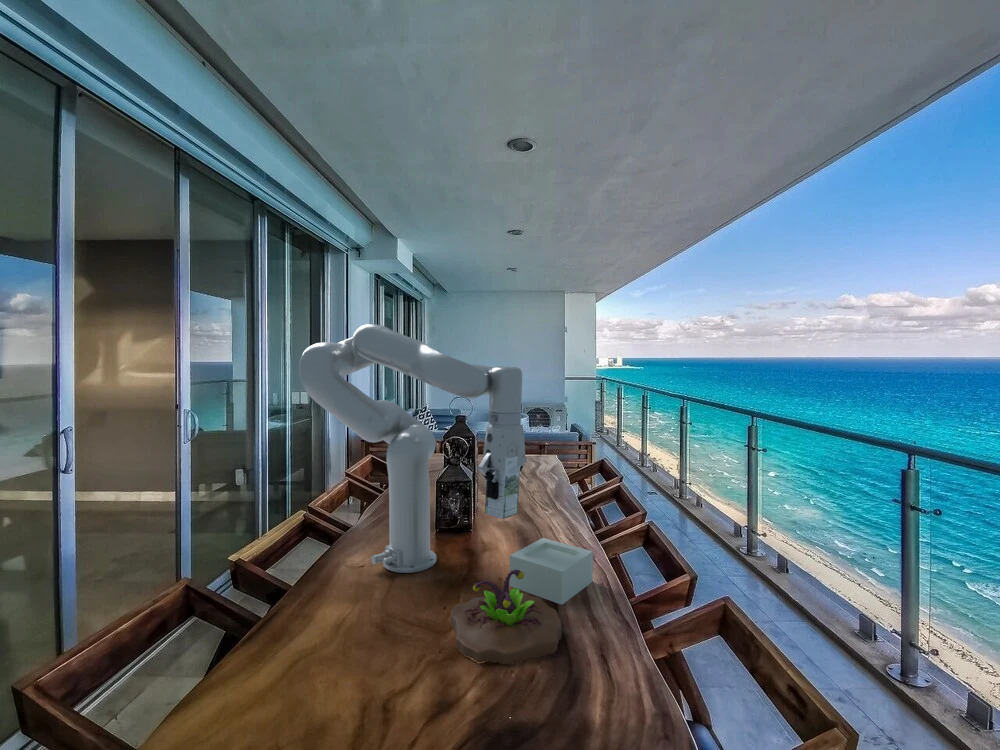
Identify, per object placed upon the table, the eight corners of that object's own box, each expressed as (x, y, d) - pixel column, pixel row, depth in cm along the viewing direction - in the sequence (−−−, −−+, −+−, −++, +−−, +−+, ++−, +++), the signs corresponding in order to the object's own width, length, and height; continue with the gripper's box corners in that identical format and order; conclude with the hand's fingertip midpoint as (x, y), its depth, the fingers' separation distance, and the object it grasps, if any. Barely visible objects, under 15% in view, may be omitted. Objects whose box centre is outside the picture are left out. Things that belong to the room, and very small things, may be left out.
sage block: (561, 606, 100) (562, 571, 99) (509, 587, 108) (509, 555, 107) (592, 582, 110) (592, 551, 110) (542, 567, 118) (542, 537, 117)
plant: (577, 658, 83) (578, 592, 82) (459, 673, 79) (459, 603, 78) (543, 600, 102) (543, 546, 102) (447, 609, 98) (447, 553, 98)
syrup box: (499, 508, 122) (501, 449, 121) (519, 514, 118) (521, 453, 118) (484, 514, 118) (486, 452, 117) (503, 520, 114) (505, 456, 113)
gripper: (489, 424, 108) (487, 506, 109) (540, 418, 121) (538, 492, 121) (466, 420, 113) (464, 498, 114) (517, 415, 126) (515, 486, 127)
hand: (502, 494), depth 118 cm, fingers closed on syrup box, 6 cm apart
